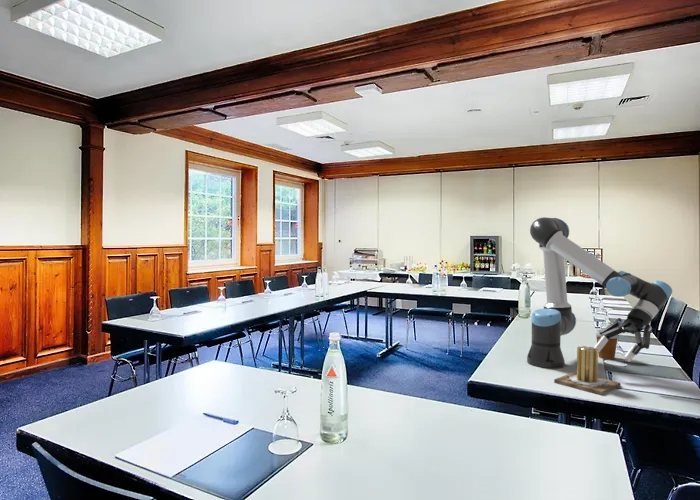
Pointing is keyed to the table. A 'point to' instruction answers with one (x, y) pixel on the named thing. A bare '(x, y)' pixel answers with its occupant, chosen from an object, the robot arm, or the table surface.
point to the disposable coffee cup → (608, 346)
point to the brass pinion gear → (587, 364)
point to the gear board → (587, 384)
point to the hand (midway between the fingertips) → (611, 354)
